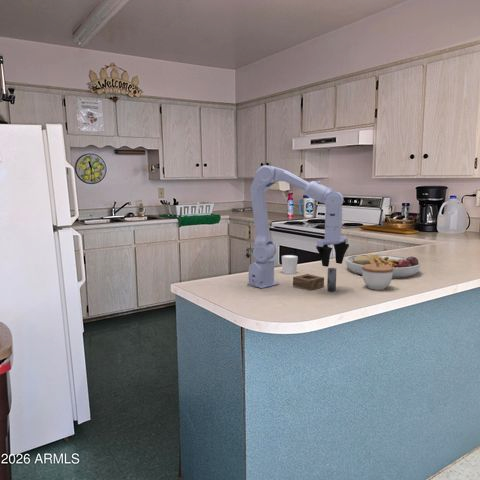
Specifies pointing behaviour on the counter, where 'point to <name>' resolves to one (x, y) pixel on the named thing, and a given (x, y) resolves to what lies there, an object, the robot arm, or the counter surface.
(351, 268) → the bowl
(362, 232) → the counter surface
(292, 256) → the shot glass
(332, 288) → the pin
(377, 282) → the lidded jar
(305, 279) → the socket block
